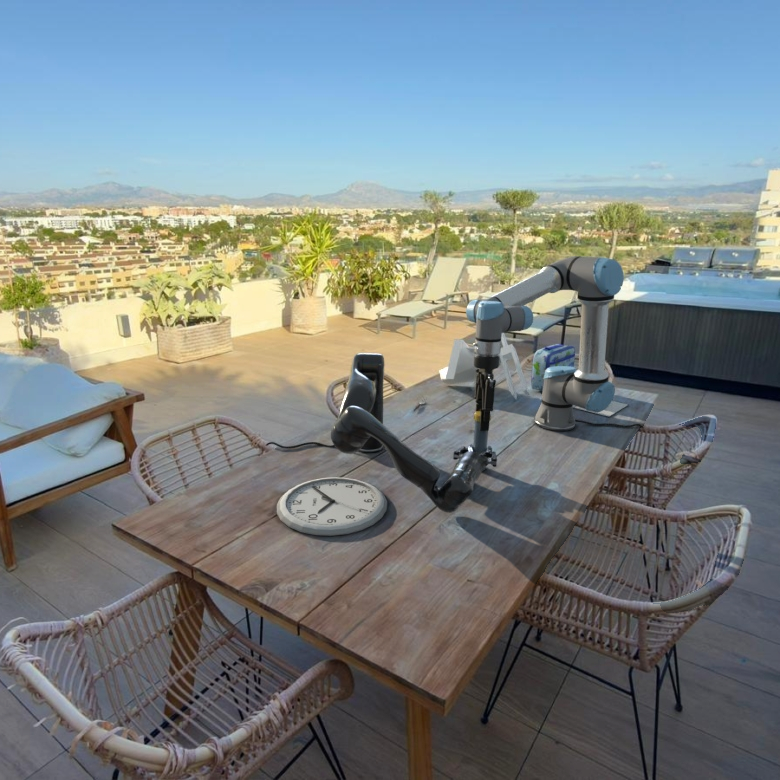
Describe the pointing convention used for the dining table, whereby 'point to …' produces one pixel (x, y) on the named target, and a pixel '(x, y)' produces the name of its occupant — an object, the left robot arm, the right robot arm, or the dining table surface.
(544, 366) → the lunch box
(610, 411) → the invitation card
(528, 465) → the dining table surface
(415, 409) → the fork
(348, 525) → the wall clock
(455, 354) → the white plastic object
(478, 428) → the clear plastic cylinder
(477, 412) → the lid
